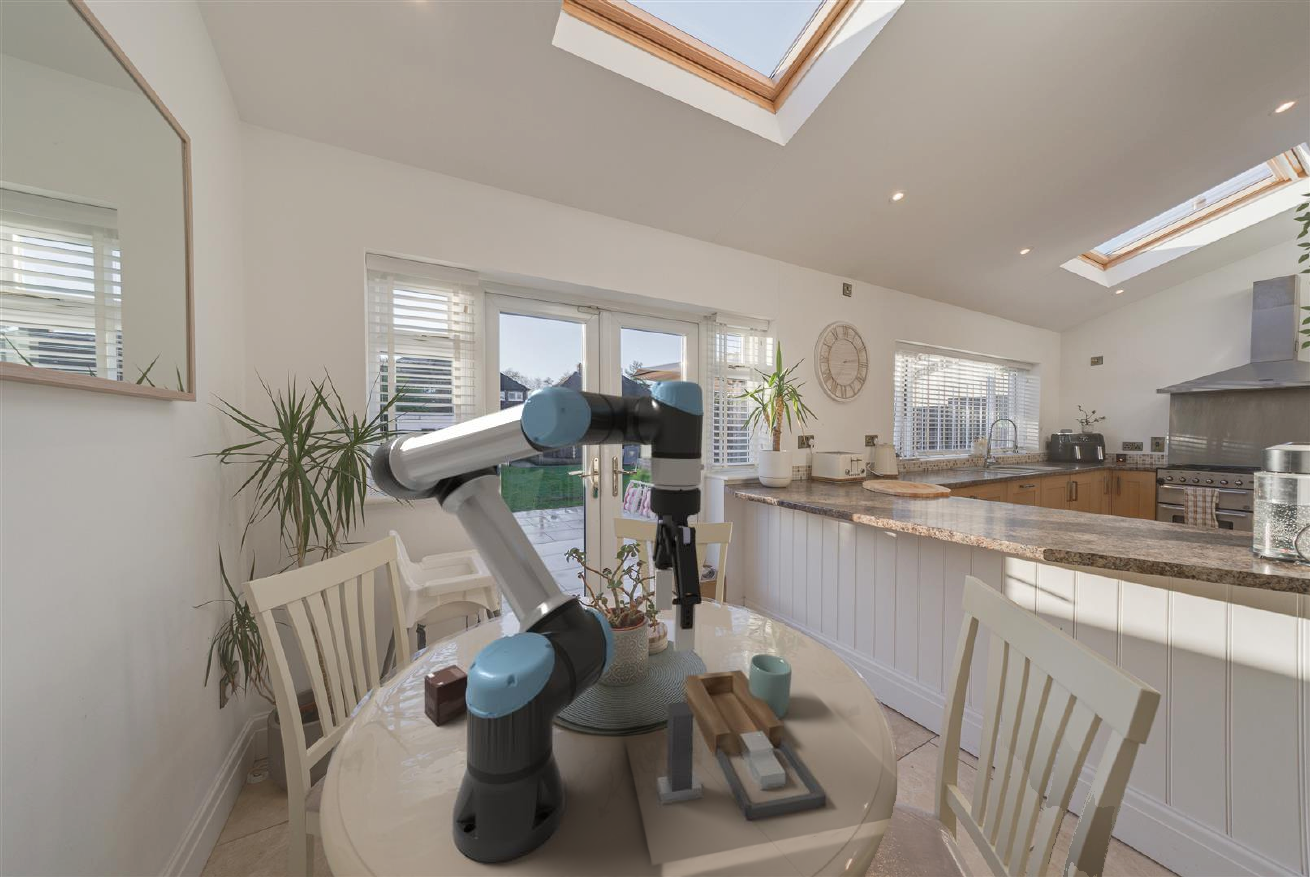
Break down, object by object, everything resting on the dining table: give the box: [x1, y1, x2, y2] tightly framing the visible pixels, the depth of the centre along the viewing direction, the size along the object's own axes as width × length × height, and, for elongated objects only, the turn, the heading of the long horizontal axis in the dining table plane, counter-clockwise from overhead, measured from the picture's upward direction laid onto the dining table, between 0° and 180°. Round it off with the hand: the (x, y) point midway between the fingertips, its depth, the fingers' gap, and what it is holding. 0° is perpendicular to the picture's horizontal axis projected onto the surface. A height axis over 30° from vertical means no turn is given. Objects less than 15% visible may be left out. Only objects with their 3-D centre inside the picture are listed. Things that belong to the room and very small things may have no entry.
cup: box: [748, 654, 792, 719], centre depth 87 cm, size 8×8×10 cm
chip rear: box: [740, 731, 775, 768], centre depth 73 cm, size 4×4×3 cm
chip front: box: [748, 753, 786, 791], centre depth 69 cm, size 4×4×3 cm
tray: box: [716, 738, 827, 822], centre depth 68 cm, size 12×12×3 cm
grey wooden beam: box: [656, 701, 703, 805], centre depth 66 cm, size 6×3×14 cm, turn 102°
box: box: [423, 664, 468, 726], centre depth 86 cm, size 6×6×7 cm
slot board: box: [683, 669, 784, 757], centre depth 83 cm, size 13×18×5 cm
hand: (672, 627), depth 67 cm, fingers open, 13 cm apart
